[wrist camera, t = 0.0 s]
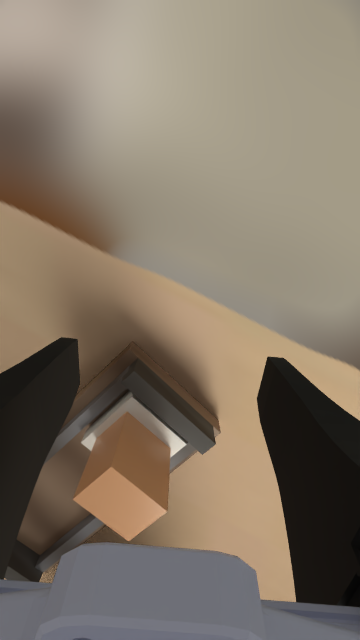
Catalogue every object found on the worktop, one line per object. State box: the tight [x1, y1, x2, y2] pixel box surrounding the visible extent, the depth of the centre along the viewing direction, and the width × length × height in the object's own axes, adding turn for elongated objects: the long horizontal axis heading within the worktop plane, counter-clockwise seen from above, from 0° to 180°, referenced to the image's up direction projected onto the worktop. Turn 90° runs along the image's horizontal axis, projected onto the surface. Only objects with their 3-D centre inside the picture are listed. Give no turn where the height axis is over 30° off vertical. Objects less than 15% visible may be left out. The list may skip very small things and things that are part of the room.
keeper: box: [73, 391, 187, 541], centre depth 21 cm, size 5×5×6 cm
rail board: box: [4, 342, 221, 582], centre depth 25 cm, size 20×9×4 cm, turn 134°
